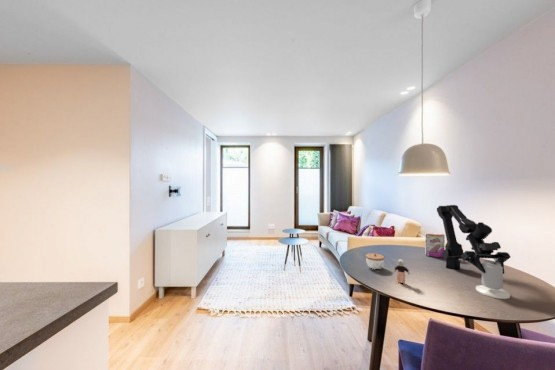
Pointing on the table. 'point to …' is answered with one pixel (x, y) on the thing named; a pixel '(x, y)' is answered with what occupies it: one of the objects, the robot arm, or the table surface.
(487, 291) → the saucer
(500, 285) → the can
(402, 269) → the grandmother figurine
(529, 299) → the table surface
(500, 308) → the table surface
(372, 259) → the lidded jar
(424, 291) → the table surface
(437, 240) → the candy bar box
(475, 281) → the table surface
